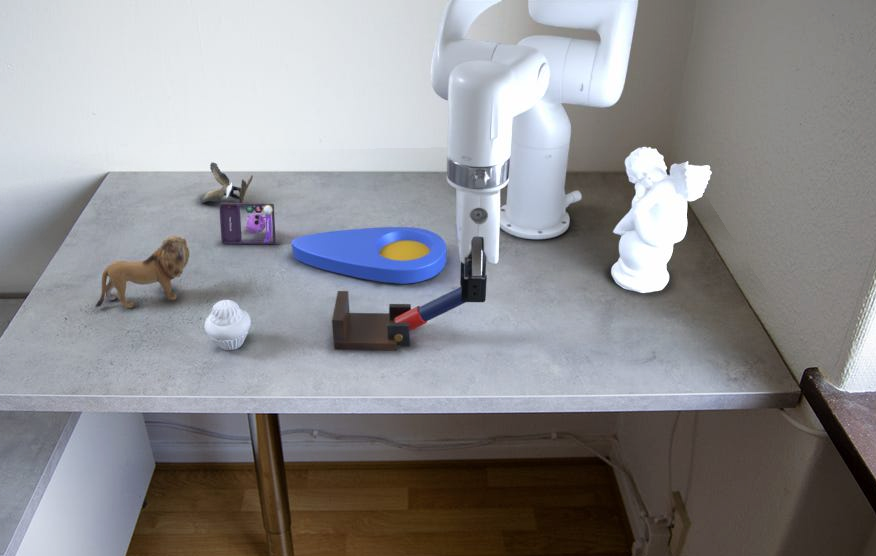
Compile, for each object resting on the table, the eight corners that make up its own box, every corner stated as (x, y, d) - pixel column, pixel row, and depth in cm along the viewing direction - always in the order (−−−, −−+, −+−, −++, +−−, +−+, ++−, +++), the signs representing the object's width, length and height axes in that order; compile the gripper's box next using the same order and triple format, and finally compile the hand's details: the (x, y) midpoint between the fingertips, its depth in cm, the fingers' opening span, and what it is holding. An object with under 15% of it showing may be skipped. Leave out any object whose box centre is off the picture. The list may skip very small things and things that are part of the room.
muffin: (204, 336, 108) (196, 295, 104) (247, 325, 110) (241, 285, 106) (213, 362, 103) (205, 320, 99) (258, 350, 105) (252, 308, 101)
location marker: (282, 278, 120) (440, 288, 117) (279, 259, 118) (440, 269, 115) (305, 236, 131) (451, 244, 127) (303, 218, 129) (451, 226, 125)
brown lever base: (411, 320, 111) (410, 291, 108) (409, 350, 105) (409, 321, 102) (339, 319, 111) (337, 290, 108) (334, 349, 105) (331, 320, 102)
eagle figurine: (258, 186, 143) (215, 171, 145) (249, 166, 136) (204, 151, 138) (240, 221, 141) (196, 206, 142) (230, 203, 134) (184, 187, 135)
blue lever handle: (488, 285, 104) (479, 271, 103) (490, 297, 102) (480, 282, 101) (405, 326, 109) (394, 313, 108) (404, 338, 107) (393, 324, 105)
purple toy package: (217, 203, 126) (272, 204, 126) (226, 199, 131) (279, 200, 131) (220, 244, 128) (274, 245, 127) (228, 238, 133) (280, 239, 132)
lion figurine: (192, 277, 120) (182, 226, 115) (200, 294, 116) (190, 243, 111) (94, 301, 115) (78, 249, 110) (98, 320, 111) (82, 267, 106)
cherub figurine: (598, 263, 123) (618, 133, 110) (668, 252, 126) (696, 124, 113) (634, 305, 113) (661, 168, 101) (709, 293, 116) (744, 158, 103)
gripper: (515, 199, 86) (505, 330, 97) (503, 140, 99) (496, 261, 110) (448, 199, 86) (445, 330, 97) (445, 140, 100) (443, 261, 110)
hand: (472, 292), depth 104 cm, fingers closed on blue lever handle, 2 cm apart
